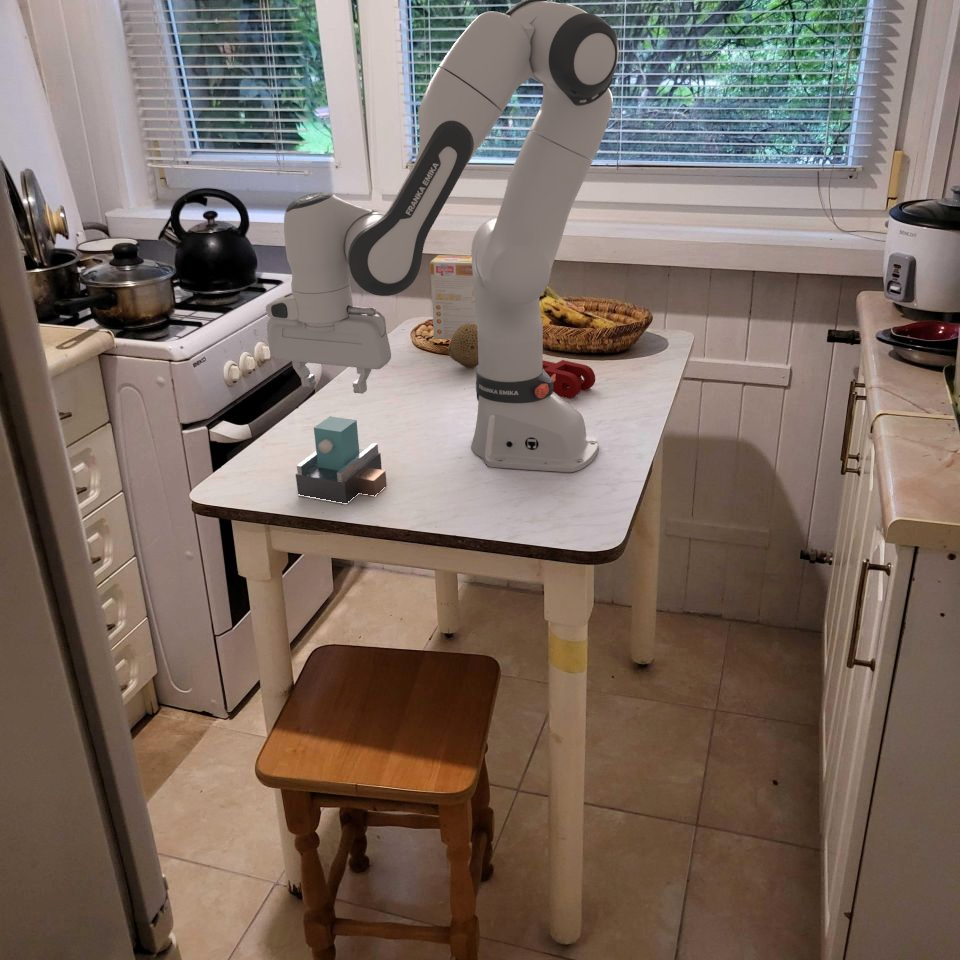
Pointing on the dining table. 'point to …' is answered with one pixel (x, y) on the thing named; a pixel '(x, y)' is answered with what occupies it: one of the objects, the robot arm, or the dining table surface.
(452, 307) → the coffeecake box
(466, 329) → the natural sponge
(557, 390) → the mechanical linkage
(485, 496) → the dining table surface
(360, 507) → the dining table surface
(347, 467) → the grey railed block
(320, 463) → the block
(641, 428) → the dining table surface
